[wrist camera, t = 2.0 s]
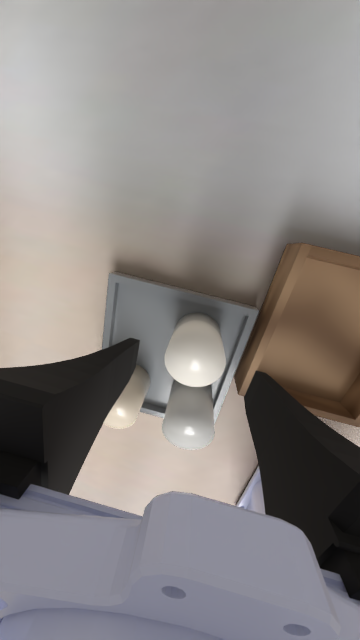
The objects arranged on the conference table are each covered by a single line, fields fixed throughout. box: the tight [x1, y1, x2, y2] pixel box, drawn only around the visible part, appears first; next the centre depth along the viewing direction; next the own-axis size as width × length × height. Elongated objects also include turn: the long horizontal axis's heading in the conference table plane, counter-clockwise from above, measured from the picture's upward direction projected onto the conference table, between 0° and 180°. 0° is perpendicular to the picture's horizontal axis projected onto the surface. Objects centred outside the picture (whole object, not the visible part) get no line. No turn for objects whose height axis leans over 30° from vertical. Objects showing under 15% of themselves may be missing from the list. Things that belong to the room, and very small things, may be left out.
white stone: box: [165, 313, 226, 387], centre depth 15 cm, size 4×4×4 cm
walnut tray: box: [234, 243, 360, 427], centre depth 15 cm, size 12×10×2 cm
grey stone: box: [162, 380, 215, 450], centre depth 17 cm, size 4×4×4 cm
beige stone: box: [103, 365, 150, 429], centre depth 17 cm, size 4×4×4 cm
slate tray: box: [102, 272, 259, 425], centre depth 18 cm, size 13×12×1 cm
